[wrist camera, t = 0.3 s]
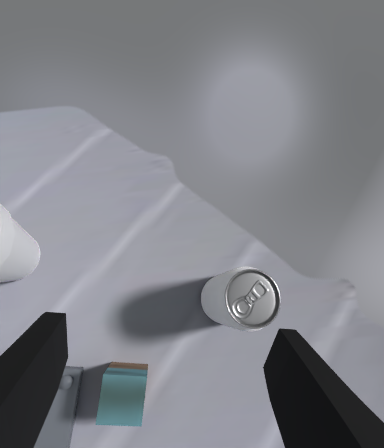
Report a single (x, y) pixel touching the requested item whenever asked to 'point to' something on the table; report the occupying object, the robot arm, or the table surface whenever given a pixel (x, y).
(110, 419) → the teal and brown block
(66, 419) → the plate
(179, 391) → the table surface
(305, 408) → the robot arm
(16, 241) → the foam cup
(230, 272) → the grey cylinder
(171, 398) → the table surface
